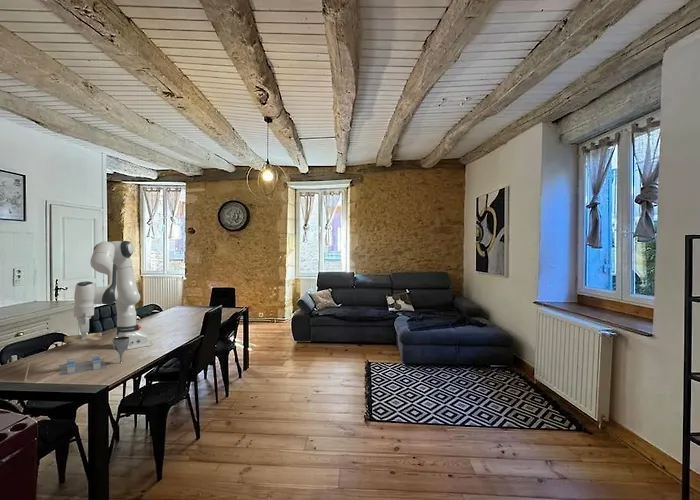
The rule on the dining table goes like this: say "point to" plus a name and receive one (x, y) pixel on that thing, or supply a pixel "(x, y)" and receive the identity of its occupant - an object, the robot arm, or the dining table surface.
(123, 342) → the grey funnel
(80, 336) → the bar
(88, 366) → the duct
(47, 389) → the dining table surface
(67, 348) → the dining table surface
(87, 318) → the robot arm
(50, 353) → the dining table surface
